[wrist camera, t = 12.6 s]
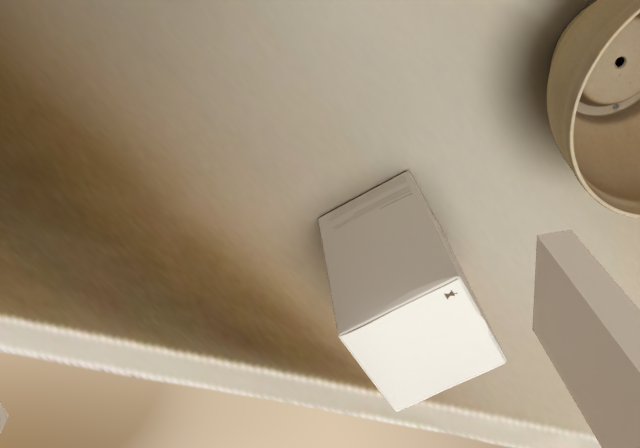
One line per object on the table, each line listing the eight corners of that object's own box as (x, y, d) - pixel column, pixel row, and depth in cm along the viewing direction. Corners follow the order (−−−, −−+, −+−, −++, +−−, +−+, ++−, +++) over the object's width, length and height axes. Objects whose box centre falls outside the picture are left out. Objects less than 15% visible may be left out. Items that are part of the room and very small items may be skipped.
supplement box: (313, 217, 51) (333, 336, 38) (408, 167, 49) (462, 273, 37) (361, 289, 55) (393, 417, 43) (450, 245, 54) (511, 364, 41)
